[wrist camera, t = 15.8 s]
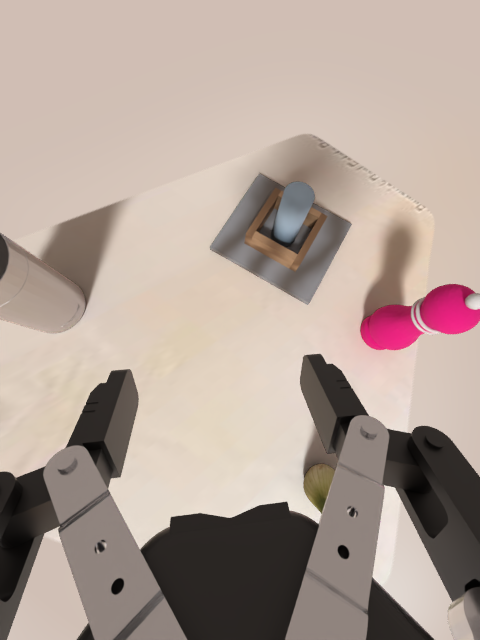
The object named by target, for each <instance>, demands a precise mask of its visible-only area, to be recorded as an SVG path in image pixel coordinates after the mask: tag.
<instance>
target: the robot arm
mask: <svg viewBox="0 0 480 640" xmlns="http://www.w3.org/2000/svg"><path fill="white" fill-rule="evenodd" d="M85 304H86V302H85V296H84V294H83V292H82V290H81V289H80V287H78V286H77V285H76V284H75V283H73V282H72V281H70V280H69V279H68V278H66V277H65V276H63V275H62V274H60V273H59V272H57V271H56V270H55V269H53V268H52V267H50V266H49V265H47V264H46V263H44V262H43V261H41V260H40V259H38V258H37V257H35V256H34V255H33V254H31V253H30V252H28V251H27V250H25V249H24V248H22V247H21V246H19V245H18V244H16V243H15V242H13V241H12V240H10V239H9V238H7V237H6V236H4V235H3V234H1V233H0V320H4V321H7V322H11V323H14V324H18V325H21V326H25V327H28V328H31V329H35V330H38V331H42V332H46V333H59V332H63V331H66V330H68V329H70V328H71V327H73V326H74V325H75V324H76V323H77V322H78V321H79V320H80V319H81V317H82V315H83V313H84V310H85ZM300 385H301V390H302V393H303V395H304V398H305V400H306V403H307V405H308V408H309V410H310V413H311V415H312V418H313V420H314V423H315V425H316V428H317V430H318V433H319V435H320V438H321V440H322V443H323V445H324V448H325V450H326V453H327V454H329V453H336V455H337V457H338V462H337V466H336V469H335V472H334V476H333V479H332V482H331V485H330V489H329V492H328V495H327V499H326V502H325V505H324V508H323V512H322V515H321V518H320V521H319V524H317V523H316V522H315V521H313V520H312V519H310V518H309V517H307V516H305V515H303V514H300V513H297V512H294V511H289V507H288V503H287V502H282V503H274V504H266V505H259V506H257V507H255V508H253V509H250V510H248V511H246V512H244V513H242V514H239V515H237V516H235V517H232V518H226V517H220V516H214V515H208V514H202V513H198V514H191V515H183V516H176V517H171V521H170V527H168V528H166V529H164V530H163V531H161V532H159V533H158V534H156V535H155V536H154V537H152V538H151V539H150V540H149V541H148V542H147V543H146V544H145V545H144V546H143V547H142V548H141V549H139V547H138V545H137V543H136V542H135V540H134V538H133V536H132V534H131V532H130V530H129V528H128V526H127V524H126V523H125V521H124V519H123V517H122V515H121V513H120V511H119V509H118V507H117V505H116V504H115V502H114V500H113V498H112V496H111V494H110V492H109V490H108V487H109V483H110V479H111V478H117V477H121V473H122V469H123V465H124V461H125V457H126V453H127V449H128V445H129V440H130V436H131V432H132V428H133V424H134V420H135V416H136V412H137V408H138V392H137V389H136V385H135V382H134V378H133V375H132V372H131V370H130V369H127V370H115V371H111V373H110V375H109V378H108V380H107V382H106V383H100V384H99V385H98V386H97V387H96V388H95V389H94V390H93V391H92V392H91V393H90V395H89V398H88V400H87V402H86V405H85V406H84V409H83V411H82V414H81V415H80V418H79V420H78V422H77V424H76V426H75V429H74V431H73V433H72V435H71V438H70V440H69V442H68V444H67V446H66V448H65V449H63V450H61V451H59V452H58V453H56V454H55V455H54V456H53V457H52V458H51V459H50V460H49V462H48V463H47V465H46V466H45V467H43V468H40V469H38V470H35V471H33V472H30V473H27V474H25V475H22V476H20V477H17V478H15V477H14V475H13V474H11V473H9V472H0V640H7V637H8V635H9V632H10V629H11V626H12V623H13V620H14V618H15V615H16V612H17V609H18V606H19V604H20V601H21V598H22V595H23V592H24V589H25V587H26V583H27V581H28V578H29V575H30V573H31V569H32V567H33V564H34V561H35V558H36V556H37V553H38V550H39V547H40V544H41V541H42V539H43V536H44V533H46V532H48V531H50V530H52V529H55V528H57V527H59V526H60V528H59V529H58V531H59V536H60V539H61V542H62V545H63V547H64V551H65V554H66V556H67V560H68V562H69V565H70V568H71V571H72V574H73V577H74V580H75V583H76V586H77V589H78V592H79V595H80V598H81V601H82V604H83V607H84V610H85V613H86V616H87V619H88V621H89V623H88V624H87V626H86V627H85V629H84V630H83V631H82V633H81V634H80V636H79V637H78V639H77V640H434V639H433V638H432V637H431V636H430V635H429V634H428V633H427V632H426V631H425V630H424V629H423V628H422V627H421V626H420V625H419V624H418V623H417V622H416V621H415V620H414V619H413V618H412V617H411V616H410V615H409V614H408V613H407V612H406V611H405V610H404V609H403V608H402V607H401V606H400V605H399V604H398V603H397V602H396V601H395V600H394V599H393V598H392V597H391V596H390V595H389V594H388V593H387V592H386V591H385V590H384V589H383V588H382V587H381V586H380V585H379V584H378V583H377V582H376V581H375V580H374V579H373V578H372V574H373V567H374V561H375V554H376V547H377V540H378V533H379V526H380V519H381V512H382V505H383V499H384V489H385V488H384V485H386V486H391V487H395V488H396V490H397V492H398V494H399V496H400V498H401V500H402V502H403V504H404V506H405V508H406V510H407V512H408V514H409V516H410V518H411V520H412V522H413V524H414V526H415V528H416V530H417V532H418V534H419V536H420V538H421V540H422V542H423V544H424V546H425V548H426V550H427V552H428V554H429V556H430V558H431V560H432V562H433V564H434V566H435V568H436V570H437V572H438V574H439V576H440V578H441V580H442V582H443V584H444V586H445V588H446V590H447V592H448V594H449V596H450V598H451V600H452V603H451V604H450V606H449V609H448V623H449V627H450V630H451V633H452V636H453V639H454V640H480V477H479V475H478V474H477V473H476V472H475V470H474V469H473V468H472V466H471V465H470V464H469V463H468V461H467V460H466V459H465V457H464V456H463V455H462V453H461V452H460V451H459V450H458V448H457V447H456V446H455V444H454V443H453V442H452V441H451V439H450V438H448V436H446V435H445V434H444V433H442V432H441V431H439V430H437V429H435V428H432V427H428V426H419V427H416V428H415V429H414V430H413V432H412V434H411V433H405V432H400V431H394V430H390V429H387V428H386V427H385V426H384V425H383V424H382V423H381V422H380V421H378V420H377V419H375V418H373V417H370V416H369V415H368V414H367V412H366V410H365V409H364V407H363V405H362V404H361V402H360V400H359V399H358V397H357V396H356V394H355V392H354V391H353V389H352V388H351V386H350V384H349V382H348V381H347V379H346V378H345V376H344V374H343V373H342V371H341V370H340V369H338V368H337V367H336V366H335V365H333V364H326V362H325V360H324V358H323V357H322V355H321V354H313V355H304V357H303V363H302V370H301V376H300Z"/></svg>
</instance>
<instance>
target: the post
mask: <svg viewBox="0 0 480 640" xmlns="http://www.w3.org/2000/svg"><path fill="white" fill-rule="evenodd" d="M314 199H315V194H314V191H313V189H312V188H311V187H310V186H309V185H308V184H306V183H303V182H292V183H290V184H289V185H287V186H286V188H285V190H284V193H283V196H282V199H281V202H280V206H279V209H278V212H277V215H276V219H275V222H274V225H273V228H272V231H271V238H272V240H273V241H275V242H276V243H278V244H280V245H282V246H284V247H287V246H290V245H291V244H292V243H293V242H294V241H295V239H296V236H297V234H298V232H299V230H300V228H301V226H302V224H303V222H304V220H305V218H306V216H307V214H308V212H309V210H310V208H311V206H312V204H313V202H314Z"/></svg>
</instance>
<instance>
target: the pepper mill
mask: <svg viewBox="0 0 480 640" xmlns="http://www.w3.org/2000/svg"><path fill="white" fill-rule="evenodd" d="M479 321H480V294H478V293H475V292H474V291H473V290H471V289H470V288H468V287H466V286H463V285H458V284H448V285H443V286H440V287H437V288H435V289H434V290H432V291H431V292H430V293H428V294H427V296H426V297H424V298H421V299H419V300H417V301H416V302H415V303H414V304H413V306H403V305H388V306H384V307H381V308H379V309H378V310H376V311H375V312H374V313H373V315H371V316H368V317H367V318H366V319H365V320H364V321H363V322H362V325H361V336H362V338H363V340H364V342H365V343H366V344H367V345H368V346H370V347H371V348H373V349H376V350H384V349H389V350H400V349H403V348H406V347H408V346H410V345H411V344H412V343H414V342H415V341H416V340H417V338H418V337H419V336H420V335H421V334H424V333H426V334H431V335H434V334H438V333H445V334H459V333H463V332H466V331H468V330H470V329H471V328H473V327H474V326H475V325H477V323H478V322H479Z"/></svg>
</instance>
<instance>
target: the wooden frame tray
mask: <svg viewBox="0 0 480 640" xmlns="http://www.w3.org/2000/svg"><path fill="white" fill-rule="evenodd" d="M284 190H285V187H283V186H281V185H279V184H278V183H276V182H274V181H272V180H270V179H269V178H267V177H265V176H263V175H261V174H259V175H258V176H257V178H256V179H255V181H254V182H253V184H252V185H251V187H250V188H249V189H248V191H247V192H246V194H245V195H244V197H243V198H242V200H241V201H240V203H239V204H238V206H237V207H236V209H235V210H234V212H233V213H232V215H231V216H230V218H229V219H228V221H227V222H226V224H225V225H224V227H223V228H222V230H221V231H220V233H219V234H218V236H217V237H216V239H215V240H214V242H213V243H212V245H211V246H210V249H211V250H212V251H214V252H216V253H218V254H219V255H221V256H223V257H225V258H226V259H228V260H230V261H232V262H233V263H235V264H237V265H239V266H240V267H242V268H244V269H246V270H247V271H249V272H251V273H253V274H254V275H256V276H258V277H260V278H261V279H263V280H265V281H267V282H269V283H270V284H272V285H274V286H276V287H277V288H279V289H281V290H283V291H284V292H286V293H288V294H290V295H291V296H293V297H295V298H297V299H298V300H300V301H302V302H304V303H305V304H307V305H308V304H309V303H310V301H311V299H312V297H313V296H314V294H315V292H316V290H317V288H318V286H319V284H320V282H321V281H322V279H323V277H324V275H325V273H326V271H327V269H328V268H329V266H330V264H331V262H332V260H333V258H334V256H335V254H336V253H337V251H338V249H339V247H340V245H341V243H342V241H343V240H344V238H345V236H346V234H347V232H348V230H349V228H350V227H351V225H352V224H351V223H349V222H347V221H345V220H343V219H341V218H340V217H338V216H336V215H334V214H332V213H331V212H329V211H327V210H325V209H323V208H321V207H320V206H318V205H316V204H314V203H313V204H312V206H311V208H310V210H309V212H308V214H307V216H306V218H305V220H304V222H303V224H302V226H301V228H300V230H299V232H298V234H297V236H296V239H295V241H294V242H293V243H292V244H291V245H290V246H287V247H284V246H282V245H280V244H278V243H276V242H275V241H273V240H272V238H271V231H272V228H273V225H274V222H275V219H276V215H277V212H278V209H279V206H280V202H281V199H282V196H283V193H284Z"/></svg>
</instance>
